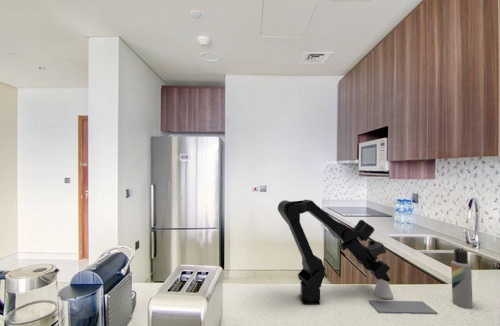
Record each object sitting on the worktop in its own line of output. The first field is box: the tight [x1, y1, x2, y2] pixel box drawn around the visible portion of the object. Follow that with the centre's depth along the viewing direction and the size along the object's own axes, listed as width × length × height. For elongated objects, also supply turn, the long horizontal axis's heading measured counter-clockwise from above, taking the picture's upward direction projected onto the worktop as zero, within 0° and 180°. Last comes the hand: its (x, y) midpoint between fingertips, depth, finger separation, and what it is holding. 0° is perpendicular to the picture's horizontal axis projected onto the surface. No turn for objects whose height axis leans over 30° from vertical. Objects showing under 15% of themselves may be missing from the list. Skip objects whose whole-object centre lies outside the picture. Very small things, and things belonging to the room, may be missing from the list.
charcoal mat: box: [368, 299, 438, 315], centre depth 91 cm, size 20×8×1 cm, turn 89°
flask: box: [372, 279, 394, 300], centre depth 100 cm, size 7×7×10 cm
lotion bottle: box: [450, 248, 473, 309], centre depth 94 cm, size 6×6×20 cm
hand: (386, 278), depth 100 cm, fingers open, 4 cm apart
